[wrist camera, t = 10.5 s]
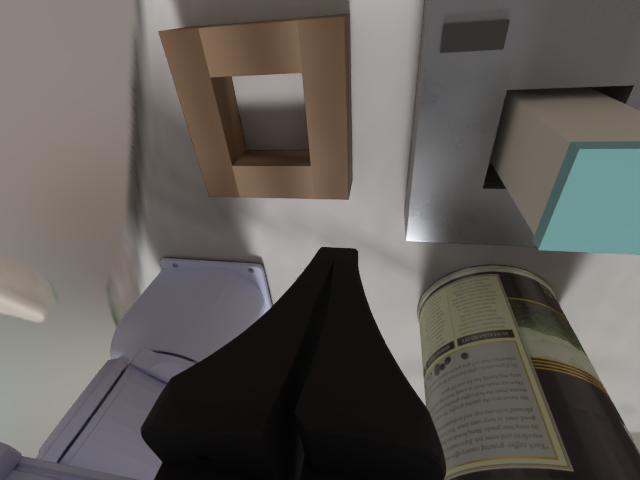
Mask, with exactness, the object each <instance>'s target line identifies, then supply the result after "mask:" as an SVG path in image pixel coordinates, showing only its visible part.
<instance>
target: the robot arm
mask: <svg viewBox="0 0 640 480" xmlns="http://www.w3.org/2000/svg"><path fill="white" fill-rule="evenodd" d="M160 265H161V268H162V271H161V272H160V273H159V274H158V276H157V277H156V278H155V279H154V280H153V282H152V283H151V284H150V285H149V286H148V288H147V289H146V290H145V291H144V292H143V294H142V295H141V296H140V297H139V298H138V300H137V301H136V302H135V303H134V304H133V305H132V307H131V308H130V309H129V310H128V311H127V313H126V314H125V315H124V316H123V318H122V319H121V321H120V322H119V324H118V326H117V328H116V330H115V333H114V336H113V339H112V343H111V350H110V353H111V360H108V361H107V362H106V363H105V365H104V366H103V367H102V368H101V370H100V371H99V372H98V373H97V375H96V376H95V377H94V378H93V380H92V381H91V382H90V384H89V385H88V386H87V387H86V389H85V390H84V391H83V393H82V394H81V395H80V396H79V398H78V399H77V400H76V402H75V403H74V404H73V405H72V407H71V408H70V409H69V411H68V412H67V413H66V415H65V416H64V417H63V418H62V420H61V421H60V422H59V424H58V425H57V426H56V428H55V429H54V430H53V432H52V433H51V434H50V436H49V437H48V438H47V440H46V441H45V443H44V444H43V445H42V447H41V448H40V449H39V455H38V456H37V457H36V459H34V458H29V457H24V456H22V455H21V453H20V452H19V451H17V450H16V449H14V448H13V447H11V446H9V445H7V444H4V443H1V442H0V480H444V478H445V476H446V461H445V457H444V452H443V448H442V445H441V442H440V439H439V436H438V433H437V431H436V428H435V425H434V423H433V420H432V418H431V415H430V412H429V411H428V409H427V408H426V406H425V405H424V404H423V402H422V401H421V399H420V398H419V397H418V395H417V394H416V392H415V391H414V389H413V388H412V386H411V385H410V383H409V382H408V380H407V379H406V377H405V376H404V374H403V373H402V371H401V369H400V368H399V366H398V364H397V363H396V361H395V359H394V357H393V356H392V354H391V352H390V350H389V349H388V347H387V345H386V343H385V341H384V339H383V337H382V335H381V333H380V331H379V329H378V327H377V324H376V322H375V320H374V318H373V315H372V313H371V310H370V307H369V305H368V302H367V299H366V296H365V293H364V289H363V286H362V282H361V278H360V274H359V268H358V251H357V250H356V249H351V248H331V247H321V248H320V249H319V250H318V252H317V253H316V255H315V256H314V258H313V259H312V261H311V262H310V263H309V265H308V266H307V267H306V269H305V270H304V271H303V272H302V274H301V275H300V276H299V277H298V279H297V280H296V281H295V282H294V283H293V285H292V286H291V287H290V288H289V289H288V290H287V291H286V292H285V293H284V295H283V296H282V297H281V298H280V299H279V300H278V301H277V302H276V303H275V304H274V305H273V306H272V303H271V298H270V294H269V290H268V285H267V281H266V277H265V272H264V268H263V267H262V266H261V265H260V264H254V263H238V262H221V261H205V260H188V259H172V258H163V259H162V260H161V261H160ZM250 268H251V269H250ZM252 269H253V270H252Z"/></svg>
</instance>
